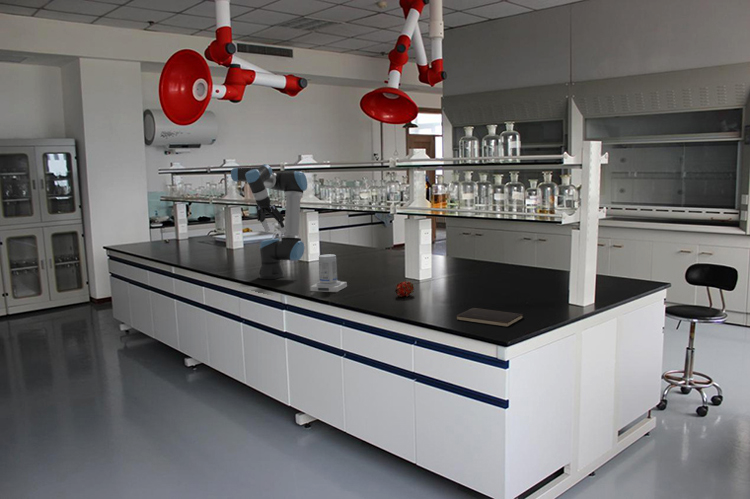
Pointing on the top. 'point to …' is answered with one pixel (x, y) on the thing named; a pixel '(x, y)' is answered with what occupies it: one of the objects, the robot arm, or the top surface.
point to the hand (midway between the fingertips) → (275, 232)
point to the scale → (329, 286)
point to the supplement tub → (328, 268)
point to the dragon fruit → (404, 288)
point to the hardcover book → (489, 316)
